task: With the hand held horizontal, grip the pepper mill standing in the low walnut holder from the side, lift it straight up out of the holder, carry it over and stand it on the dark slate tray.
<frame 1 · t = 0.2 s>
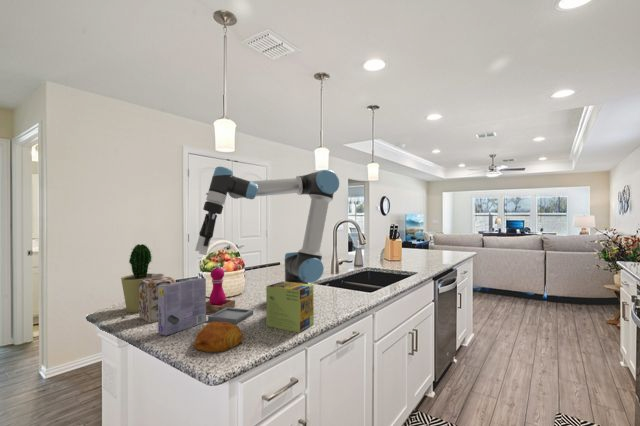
hand: (200, 252, 135), 27 cm above the worktop, tool tilted 15°, fingers open, 13 cm apart
protein box: (290, 325, 127), on the worktop
walnut holder: (217, 308, 149), on the worktop
croissant: (216, 345, 109), on the worktop
tray: (231, 317, 136), on the worktop
pepper mill: (217, 309, 149), resting in walnut holder
decorative jar: (158, 317, 138), on the worktop
potted cactus: (140, 309, 150), on the worktop
cake pan box: (184, 328, 125), on the worktop
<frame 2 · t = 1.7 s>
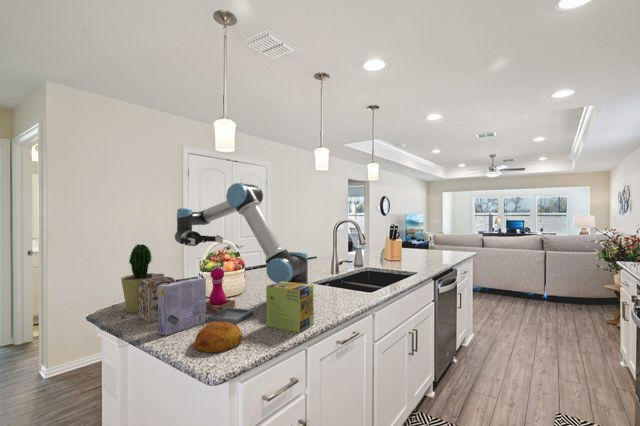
hand: (208, 241, 156), 30 cm above the worktop, tool horizontal, fingers open, 13 cm apart
nothing on the worktop moved.
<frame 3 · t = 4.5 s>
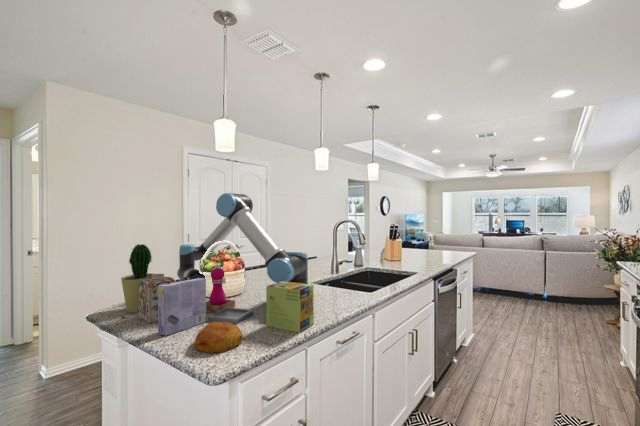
hand: (211, 282, 153), 11 cm above the worktop, tool horizontal, fingers open, 13 cm apart
nothing on the worktop moved.
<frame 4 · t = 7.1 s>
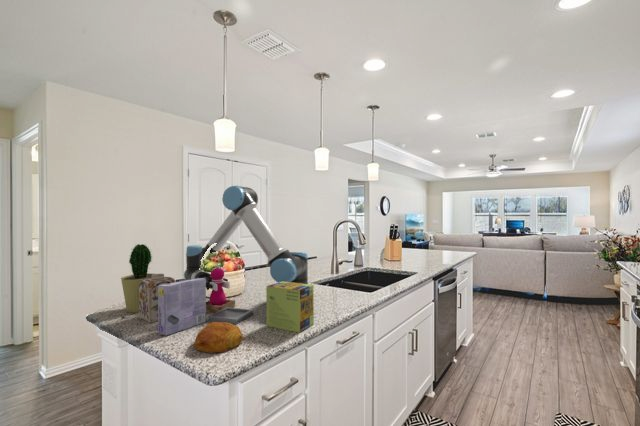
hand: (222, 286, 145), 11 cm above the worktop, tool horizontal, fingers closed on pepper mill, 5 cm apart
pepper mill: (217, 309, 149), resting in walnut holder, touching gripper
everything else where it was.
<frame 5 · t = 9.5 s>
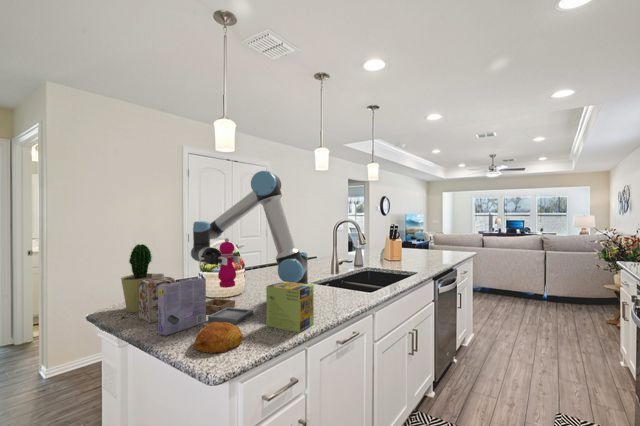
hand: (232, 260, 134), 24 cm above the worktop, tool horizontal, fingers closed on pepper mill, 5 cm apart
pepper mill: (227, 286, 138), point 13 cm above the worktop, touching gripper
everything else where it was.
when the fingers open (13 cm above the worktop, at t = 12.0 s): pepper mill drops 1 cm, resting on tray.
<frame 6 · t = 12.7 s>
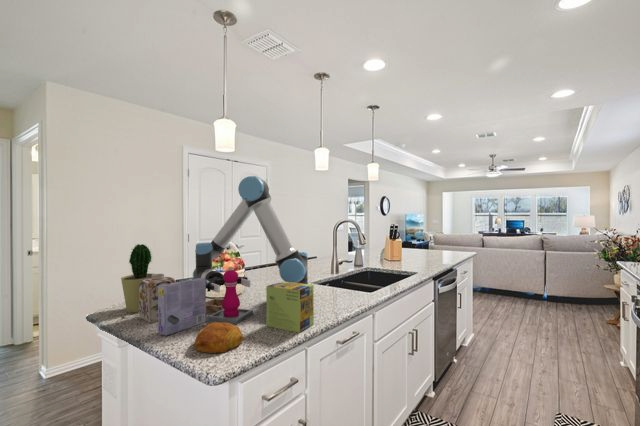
hand: (234, 286, 134), 13 cm above the worktop, tool horizontal, fingers open, 13 cm apart
pepper mill: (231, 315, 136), point 1 cm above the worktop, touching tray
everything else where it was.
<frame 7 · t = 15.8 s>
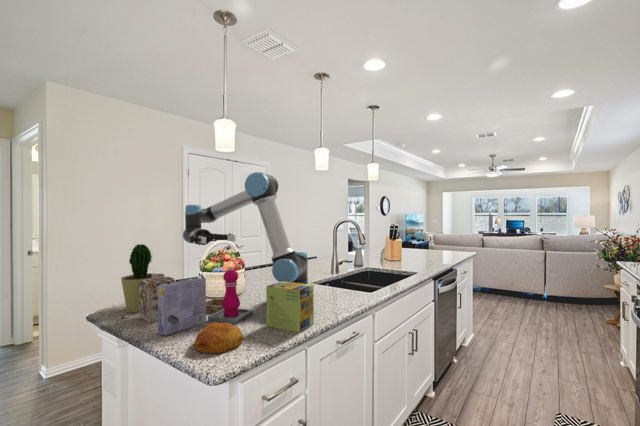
hand: (220, 239, 144), 32 cm above the worktop, tool horizontal, fingers open, 13 cm apart
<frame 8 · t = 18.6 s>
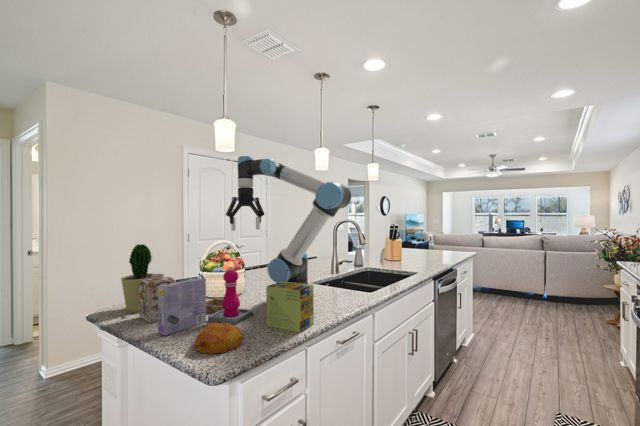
hand: (245, 230, 165), 35 cm above the worktop, tool pointing down, fingers open, 13 cm apart
at the end: pepper mill inside the target area on the tray (0.1 cm from its centre), point 1.0 cm above the tray's base; pepper mill tilted 0°; the gripper is holding nothing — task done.
